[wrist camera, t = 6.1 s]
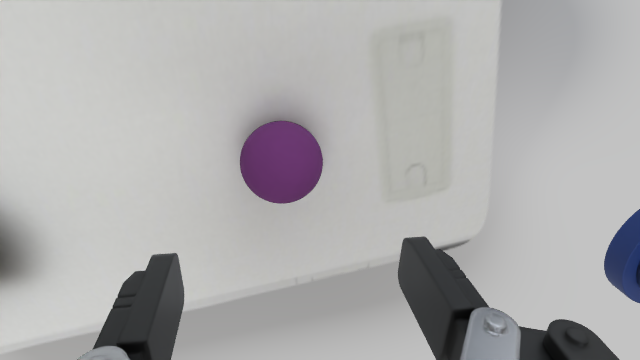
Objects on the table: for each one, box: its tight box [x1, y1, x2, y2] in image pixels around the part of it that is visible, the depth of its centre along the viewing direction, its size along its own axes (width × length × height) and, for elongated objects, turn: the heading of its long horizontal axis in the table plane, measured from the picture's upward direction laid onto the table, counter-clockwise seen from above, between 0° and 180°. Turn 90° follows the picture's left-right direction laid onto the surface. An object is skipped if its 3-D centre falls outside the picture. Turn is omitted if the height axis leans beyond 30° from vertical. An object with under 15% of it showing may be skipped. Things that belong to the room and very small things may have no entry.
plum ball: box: [240, 121, 323, 203], centre depth 21 cm, size 5×5×5 cm
